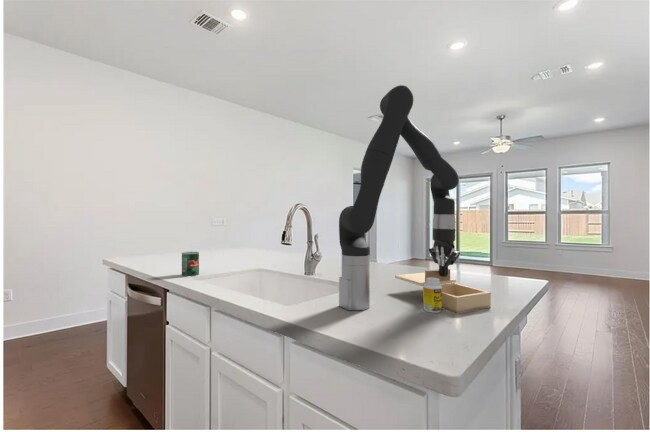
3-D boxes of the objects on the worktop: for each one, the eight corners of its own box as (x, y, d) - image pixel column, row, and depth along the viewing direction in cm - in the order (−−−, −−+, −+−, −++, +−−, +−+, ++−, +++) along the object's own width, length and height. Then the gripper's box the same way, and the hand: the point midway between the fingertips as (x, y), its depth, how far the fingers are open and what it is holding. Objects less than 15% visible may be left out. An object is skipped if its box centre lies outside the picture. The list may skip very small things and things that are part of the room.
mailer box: (456, 313, 100) (456, 297, 100) (422, 301, 114) (422, 287, 113) (490, 307, 106) (490, 292, 106) (454, 296, 120) (454, 283, 120)
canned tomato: (195, 276, 155) (195, 253, 155) (178, 276, 155) (178, 253, 155) (201, 273, 163) (201, 251, 163) (186, 273, 163) (185, 251, 163)
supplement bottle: (434, 314, 99) (434, 281, 99) (419, 309, 104) (419, 278, 104) (445, 311, 102) (445, 279, 102) (431, 307, 107) (431, 276, 107)
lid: (422, 286, 113) (422, 272, 113) (395, 277, 127) (395, 265, 127) (455, 282, 120) (455, 268, 120) (426, 274, 134) (426, 262, 134)
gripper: (422, 226, 119) (422, 273, 119) (450, 228, 107) (449, 281, 107) (438, 226, 122) (437, 272, 122) (466, 228, 110) (466, 279, 110)
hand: (443, 276), depth 115 cm, fingers closed
